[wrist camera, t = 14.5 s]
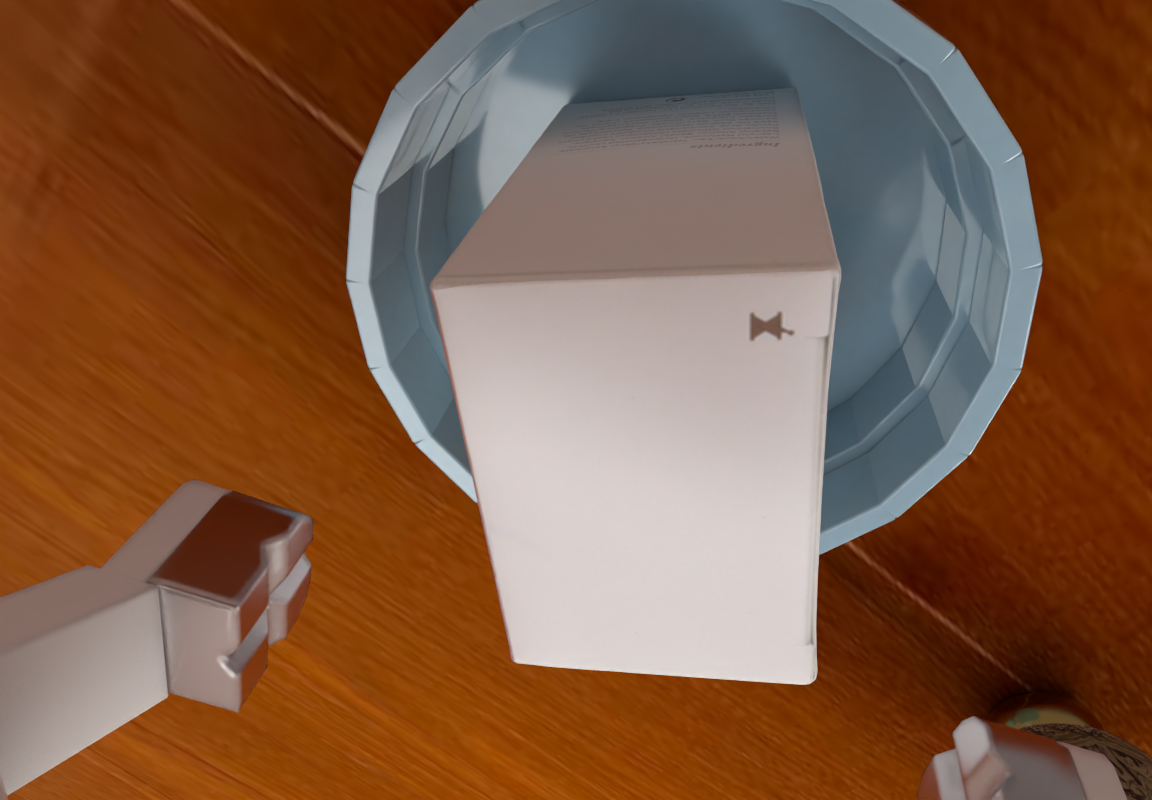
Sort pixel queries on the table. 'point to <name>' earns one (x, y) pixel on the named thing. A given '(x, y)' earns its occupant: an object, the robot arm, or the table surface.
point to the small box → (652, 386)
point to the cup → (1078, 735)
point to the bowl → (849, 185)
